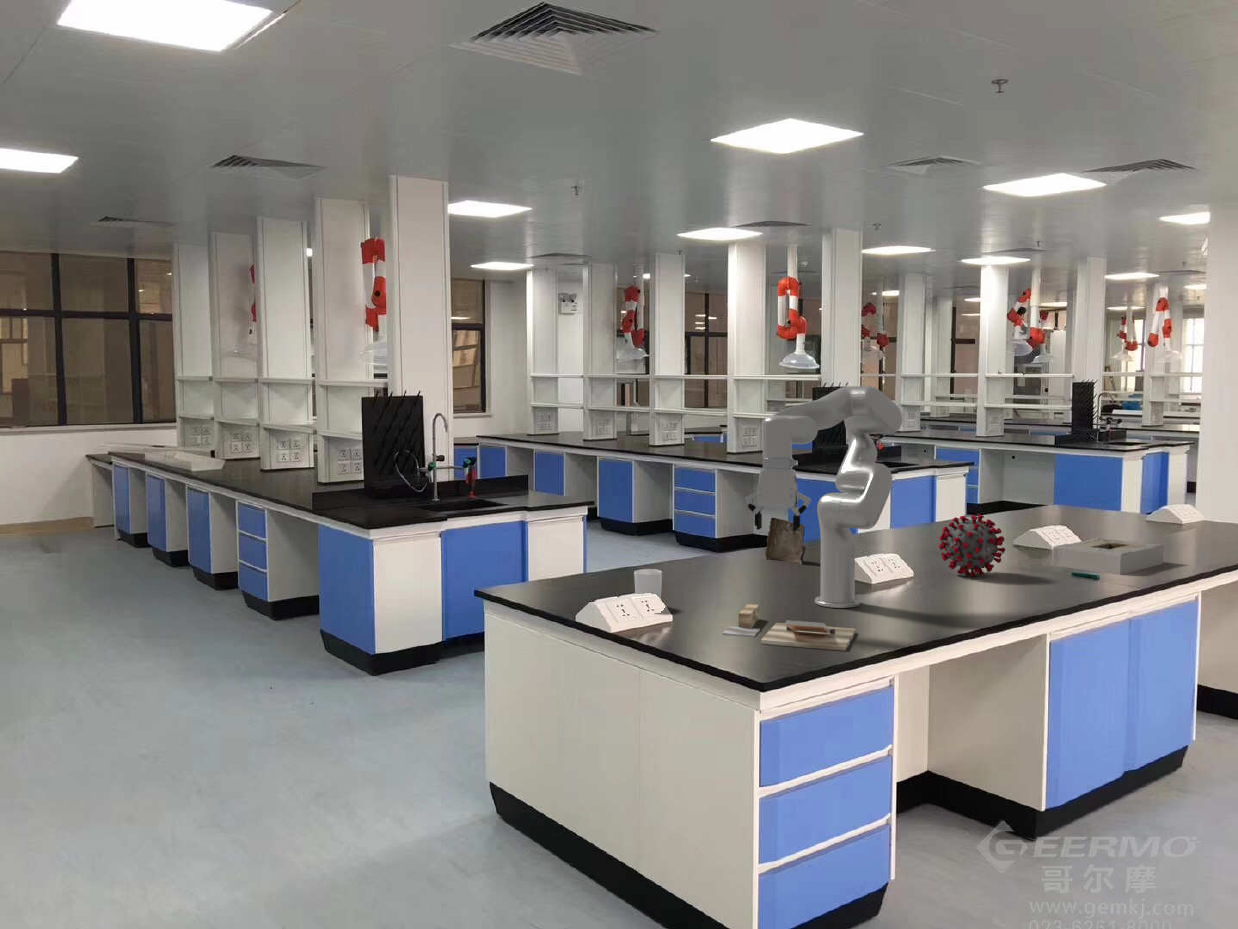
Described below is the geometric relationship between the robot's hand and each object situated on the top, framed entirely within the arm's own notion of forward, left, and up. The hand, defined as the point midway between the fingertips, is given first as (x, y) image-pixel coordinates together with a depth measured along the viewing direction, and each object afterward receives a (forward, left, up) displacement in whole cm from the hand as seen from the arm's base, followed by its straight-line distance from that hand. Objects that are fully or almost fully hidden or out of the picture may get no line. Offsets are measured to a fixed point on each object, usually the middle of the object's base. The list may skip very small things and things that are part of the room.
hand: (777, 529), depth 252 cm
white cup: (-6, -38, -24) cm, 46 cm away
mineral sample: (-90, -15, -25) cm, 94 cm away
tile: (+17, +11, -20) cm, 29 cm away
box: (-117, +91, -25) cm, 150 cm away
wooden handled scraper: (+9, -6, -24) cm, 27 cm away
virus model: (-82, +47, -24) cm, 98 cm away
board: (+15, +11, -24) cm, 31 cm away
